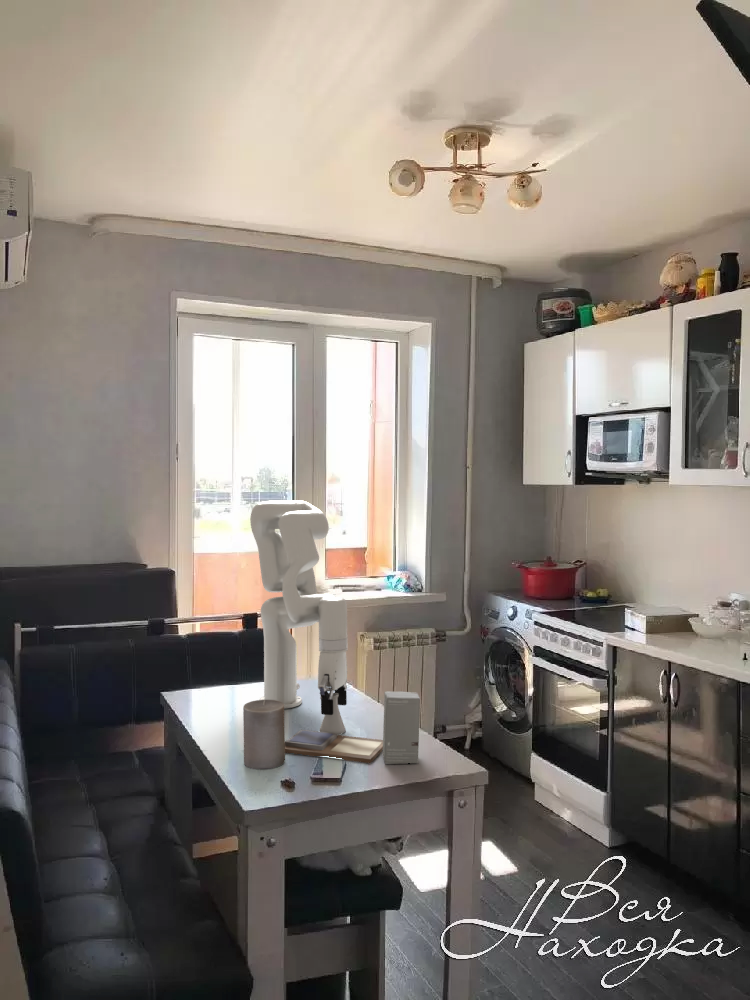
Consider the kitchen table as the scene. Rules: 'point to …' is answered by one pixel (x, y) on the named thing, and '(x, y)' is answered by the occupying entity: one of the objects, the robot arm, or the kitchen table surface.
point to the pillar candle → (264, 734)
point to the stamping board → (334, 746)
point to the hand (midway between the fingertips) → (334, 709)
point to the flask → (333, 719)
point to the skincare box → (401, 727)
